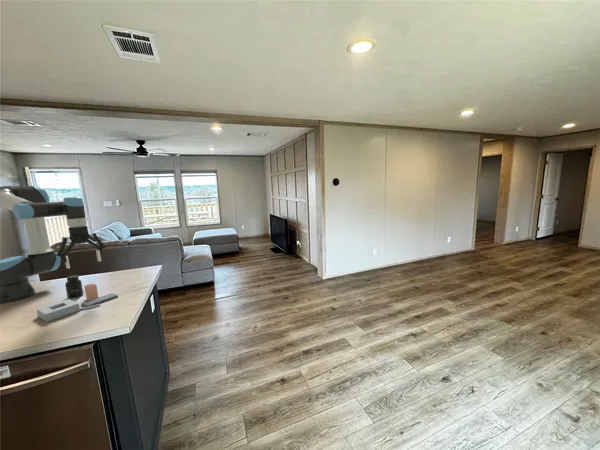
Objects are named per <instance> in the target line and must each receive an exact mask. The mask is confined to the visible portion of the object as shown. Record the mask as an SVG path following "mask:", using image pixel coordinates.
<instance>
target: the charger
mask: <svg viewBox="0 0 600 450" xmlns="http://www.w3.org/2000/svg"><path fill="white" fill-rule="evenodd" d="M83 287H84V288H83V289H84V292H85V298H86V300H88V301H90V300H93V299H96V298H99V294H98V287H97V283H94V282H90V283H87V284H85V285H83Z"/></svg>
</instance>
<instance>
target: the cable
mask: <svg viewBox="0 0 600 450" xmlns="http://www.w3.org/2000/svg"><path fill="white" fill-rule="evenodd" d="M101 304H102V303H100V304H97V305H93V306H88V307H84V306H83V307H80V311H83V310H88V309H93V308H97V307H100V306H101Z"/></svg>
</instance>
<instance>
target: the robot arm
mask: <svg viewBox="0 0 600 450" xmlns="http://www.w3.org/2000/svg"><path fill="white" fill-rule="evenodd" d="M1 208H2V209H7V210H9V211H12V213H13V215H14V217H15V218H16V219H18V220H23V222H24V227H25V231H26V236H27V241H28V245H29V251H28V252H27V253H26V254H27V255H26V256H27V257H24V256H23V255H17V256H11V257H7V258H4V259H0V304H1V303H2V304H3V303H10V301H11V302H15V301H19V300H23V299H26V298H30V297H31V296H34V295H35V294H36V289H35V288H34V286H33V285H32V284H31V283H30V281H29V277H32V276H36V275H40V274H45V273H50V272H52V271H56V270H57V269H58V268H59V267H60V265H61V260H62V263H64V265H65V268H66V269H67V270H68V269H71V266H70V265H71V264H70V260H69V256H68V254H69V253H70V251H71V250H72V249H73V248H74V247H75V246H76V245H80V244H85V243H88V244H89V245H91V246H92V247H94V248H96V250H95V252H96V259H97V262H102V255H103V249H105V248H106V246H105V245H104V243H103V242H102V241H101V239H100V238H99V237H98V236H97V233H96V232H92V233H89V228H88V222H87V218H86V211H85V203H84V200H83V198H82V197H80V196H74V197H64V198H63V201H62V200H61V201H50V196H49V194H48V192H47V190H46V189H44V188H43V187H41V186H40V185H39V186H37V185H3V186H0V209H1ZM61 216H62V217H63V216H64V217H65V216H66V217H65V218H66V222H67V226H68V233H69V236H66V237H65V236H63V237H61V243H60V245H59V247H58V249H57V251H55V250H54V249H53V248H51V245H50V240H49V235H48V230H47V224H46V220H45V219H46V218H50V217H61ZM90 238H92V239H93V240H94V241H95V242H96V243H97V244H96V243H95V242H93V241H92V240H90ZM69 240H70V243H69V244H68V245H67V242H68V241H69ZM66 245H67V247H66ZM65 247H66V248H65Z"/></svg>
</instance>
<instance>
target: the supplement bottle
mask: <svg viewBox="0 0 600 450" xmlns="http://www.w3.org/2000/svg"><path fill="white" fill-rule="evenodd" d="M64 286H65V290H66V297H67V299H70V300H72V299H75V298H76V299H77V298H80V297H82V296H83V295H84V291H83V289H84V288H83V284H82V280H81V279H79V275H78V274H76V275H69V276H67V277H66V283H65V285H64Z"/></svg>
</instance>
